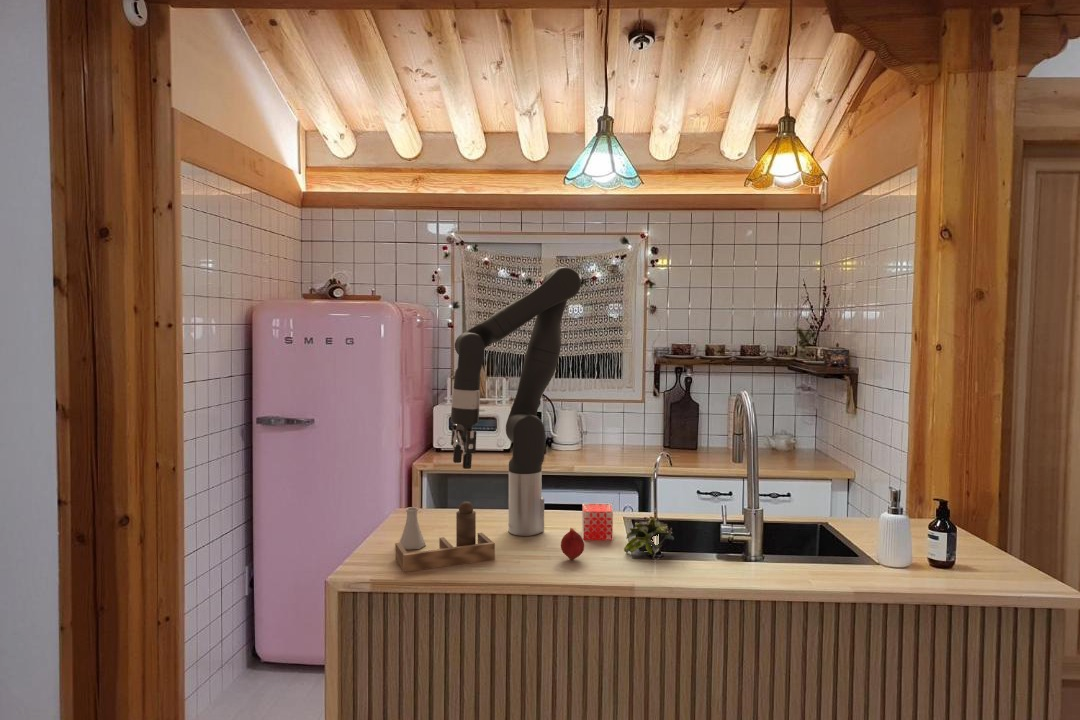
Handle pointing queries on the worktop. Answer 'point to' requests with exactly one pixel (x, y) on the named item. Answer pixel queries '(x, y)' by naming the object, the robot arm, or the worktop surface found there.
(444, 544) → the rack
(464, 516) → the pepper mill
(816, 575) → the worktop surface
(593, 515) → the red patterned cube
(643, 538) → the green leafy plant
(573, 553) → the onion
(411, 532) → the flask
